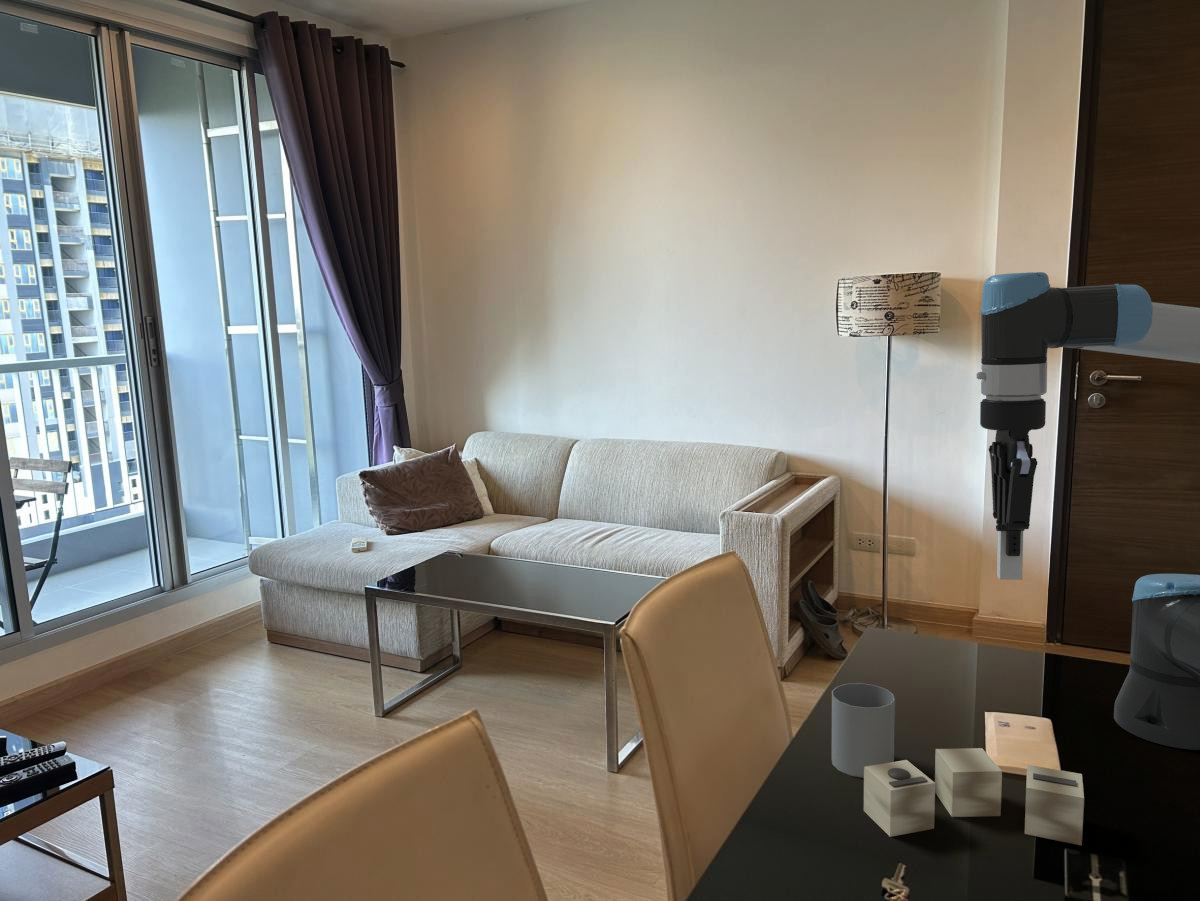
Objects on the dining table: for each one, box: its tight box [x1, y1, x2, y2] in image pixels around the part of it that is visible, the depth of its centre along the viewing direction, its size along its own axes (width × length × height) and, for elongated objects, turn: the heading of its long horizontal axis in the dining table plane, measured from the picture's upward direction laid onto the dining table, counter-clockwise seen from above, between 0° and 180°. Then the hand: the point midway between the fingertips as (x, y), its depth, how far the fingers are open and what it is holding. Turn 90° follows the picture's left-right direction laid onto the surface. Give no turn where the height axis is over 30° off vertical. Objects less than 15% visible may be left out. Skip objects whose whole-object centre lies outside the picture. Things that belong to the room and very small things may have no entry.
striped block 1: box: [863, 759, 936, 838], centre depth 109 cm, size 6×6×6 cm
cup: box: [831, 682, 896, 779], centre depth 123 cm, size 8×8×10 cm
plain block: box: [934, 747, 1003, 818], centre depth 112 cm, size 6×6×6 cm
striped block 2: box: [1024, 764, 1085, 846], centre depth 106 cm, size 6×6×6 cm
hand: (1009, 577), depth 115 cm, fingers closed
